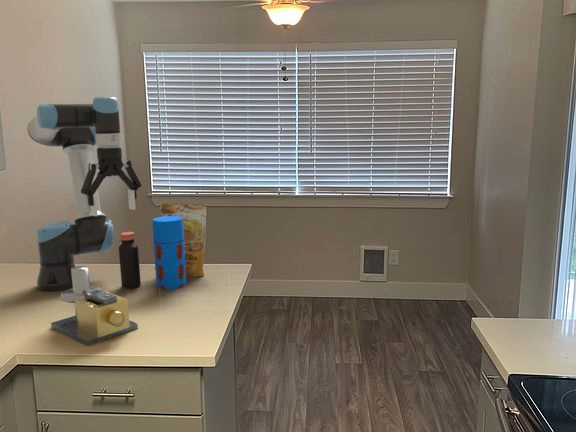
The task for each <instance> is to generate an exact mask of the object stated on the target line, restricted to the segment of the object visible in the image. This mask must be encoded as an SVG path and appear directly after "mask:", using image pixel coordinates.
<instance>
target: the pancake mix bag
mask: <svg viewBox="0 0 576 432" xmlns="http://www.w3.org/2000/svg"><path fill="white" fill-rule="evenodd" d="M158 207H159V212H160V213H159V214H160V216H159V217H164V216H179V217H182V219H183V230H184V248H185V265H186V278H188V277H189V278H198V276H199V277H203V276H205V274H204V273H205V272H204V269H203V267H204V261H205V249H206V237H207V225H208V213H209V212H208V207H207V206H205V204H201V203H200V204H196V203H195V204H194V203H193V204H190V203H162V204H160V205H159V206H158ZM187 276H188V277H187Z"/></svg>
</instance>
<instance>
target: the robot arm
mask: <svg viewBox="0 0 576 432" xmlns="http://www.w3.org/2000/svg"><path fill="white" fill-rule="evenodd" d="M118 101H119V100H118V98H116V97H114V96H112V97H111V96H110V97H109V96H108V97H106V96H105V97H103V96H102V97H101V96H100V97H98V96H97V97H94V98H93V100H92V103H71V104H69V103H67V104H66V103H65V104H62V103H57V104H53V103H46V104H39V105H38V106H37V108H36V116H35V117H33V118H32V119H30V121H29V122H28V124H27V133H28V135H29V137H30V138H31V140H33V142H36V143H38V144H40V145H41V146H46V147H62V152H63V153H65V154H66V155H67V156H68V162H69V169H70V173H71V176H70V177H71V182H72V188H73V193H74V201H75V205H76V212H77V216H76V217H75V218H74V224H72V223H71V222H70V221H69V220H62V221H61V220H60V221H54V222H50V223H47V224H44V225H42V226H40V227H38V229H37V231H36V237H37V239H36V242H37V247H38V255H39V264H40V266H39V272H38V274H37V279H36V287H37V290H39V291H45V292H55V291H65V290H68V289H72V288H73V284H72V273H71V268H73V267H77V266H76V264H75V259H74V258H75V257H74V256H78V255H79V256H80V255H86V254H93V253H100V252H104V251H108V250H110V249H111V248H112V247H113V242H114V235H115V234H114V225H113V222H112V220H111V219H108V218H107V215H106V214H105V213H103V212H102V207H101V204H100V196H99V192H98V191H99V190H98V189H99V187H100V186H101V184H102V183H103V181H104V179H106V177H109V178H110V177H112V176H113V177H116V176H118V177H119V178H120V179H121V180H122V181H123V182H124V183H125V185H126V187H128V188H129V189H127V197H128V198H127V199H128V209H129V210H133V211H136V200H137V197H138V196H137V191H138V190H139V188H141V187H142V183H141V181H140V179H139V178H138V176H137V174H136V172H135V170H134V168H133V166H132V161H131V160H127V159H125V160H124V161H123V160H122V158H123V153H122V152H123V151H122V147H121V145H122V140H121V124H120V123H121V122H120V107H119V102H118ZM95 145H96V147H97V148H96V155H97V156H96V157H97V164H96V163H94V161H93V155H92V153H93V151H94V150H95ZM123 167H124V169H125V171H126V173H127V174H126V173H125V171H124V170H123V169H122V168H123ZM98 170H99V171H98ZM96 171H98V172H96ZM96 173H97V174H96ZM127 175H128V176H127Z"/></svg>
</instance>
